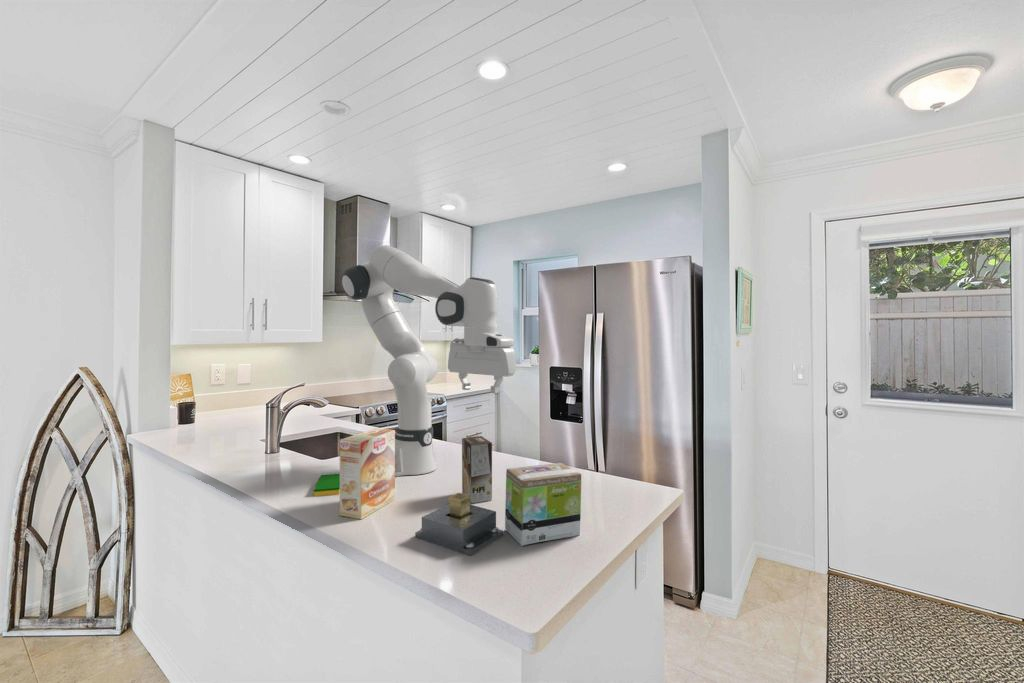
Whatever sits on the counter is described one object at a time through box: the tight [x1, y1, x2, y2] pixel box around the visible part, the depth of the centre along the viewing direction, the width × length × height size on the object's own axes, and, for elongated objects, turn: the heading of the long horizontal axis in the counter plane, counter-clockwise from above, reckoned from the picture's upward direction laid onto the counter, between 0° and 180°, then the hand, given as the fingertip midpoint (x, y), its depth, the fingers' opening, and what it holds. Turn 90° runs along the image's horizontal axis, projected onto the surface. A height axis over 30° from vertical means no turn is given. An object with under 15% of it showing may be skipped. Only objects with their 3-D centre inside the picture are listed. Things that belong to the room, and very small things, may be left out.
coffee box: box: [461, 435, 493, 504], centre depth 132 cm, size 9×6×16 cm
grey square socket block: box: [414, 503, 504, 556], centre depth 108 cm, size 16×12×5 cm
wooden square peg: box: [447, 492, 472, 520], centre depth 108 cm, size 4×4×8 cm
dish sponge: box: [313, 473, 340, 497], centre depth 140 cm, size 7×14×2 cm, turn 14°
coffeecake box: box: [339, 427, 396, 520], centre depth 124 cm, size 15×7×20 cm, turn 160°
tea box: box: [504, 462, 582, 547], centre depth 109 cm, size 15×10×15 cm, turn 114°
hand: (480, 391), depth 125 cm, fingers open, 8 cm apart
